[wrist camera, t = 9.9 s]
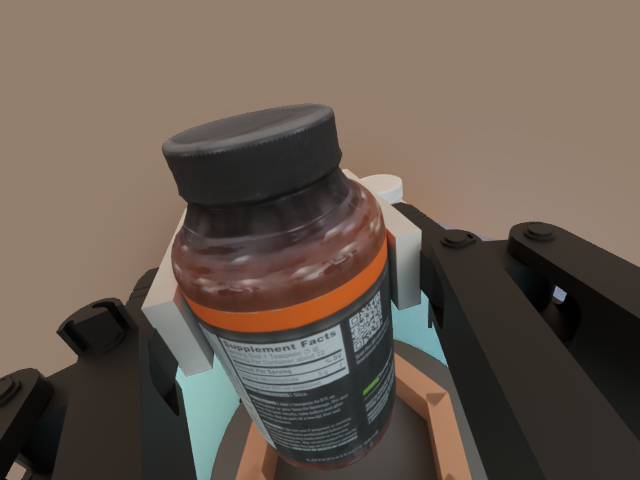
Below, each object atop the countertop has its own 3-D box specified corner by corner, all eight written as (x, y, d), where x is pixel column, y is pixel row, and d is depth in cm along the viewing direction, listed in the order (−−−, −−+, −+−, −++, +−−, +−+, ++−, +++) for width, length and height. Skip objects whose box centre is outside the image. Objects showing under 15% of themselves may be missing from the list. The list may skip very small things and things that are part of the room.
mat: (355, 308, 26) (354, 303, 25) (588, 467, 14) (591, 463, 14) (173, 448, 18) (170, 444, 18) (347, 1033, 7) (344, 1045, 6)
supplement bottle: (286, 334, 16) (213, 113, 10) (399, 345, 14) (388, 84, 8) (232, 460, 11) (32, 172, 5) (393, 501, 9) (359, 133, 3)
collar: (354, 338, 22) (350, 320, 21) (506, 459, 14) (512, 439, 13) (224, 446, 17) (212, 430, 16) (349, 722, 9) (339, 722, 8)
